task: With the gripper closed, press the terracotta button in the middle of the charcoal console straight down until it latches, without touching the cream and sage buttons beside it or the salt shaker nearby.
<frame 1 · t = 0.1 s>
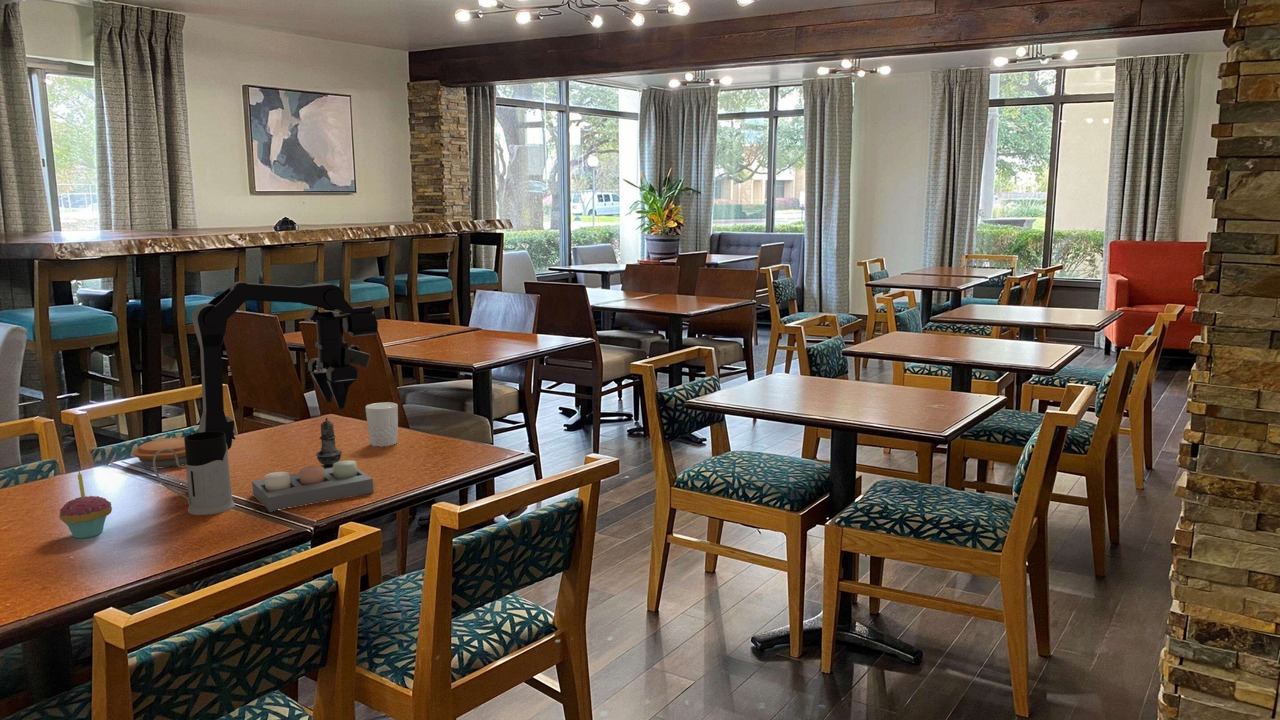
hand: (335, 405, 214), 15 cm above the table, tool pointing down, fingers open, 9 cm apart
cream button: (277, 482, 191), point 4 cm above the table, slide at 0.0 cm
salt shaker: (330, 468, 215), on the table
terracotta button: (312, 476, 195), point 4 cm above the table, slide at 0.0 cm
glass holder: (197, 511, 185), on the table
white cup: (383, 444, 236), on the table
sage button: (345, 471, 199), point 4 cm above the table, slide at 0.0 cm
cupcake: (88, 534, 173), on the table
console: (313, 493, 195), on the table
pie: (170, 462, 223), on the table
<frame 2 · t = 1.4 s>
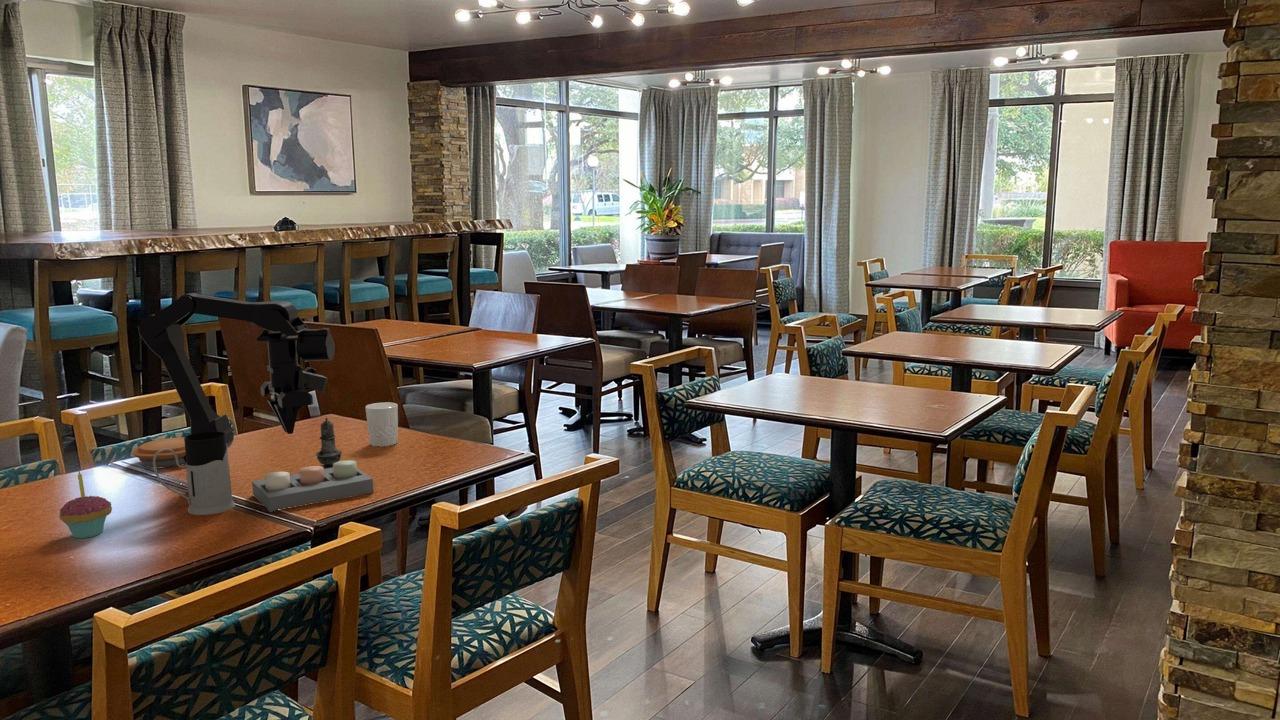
hand: (288, 432, 199), 12 cm above the table, tool pointing down, fingers closed
nothing on the table moved.
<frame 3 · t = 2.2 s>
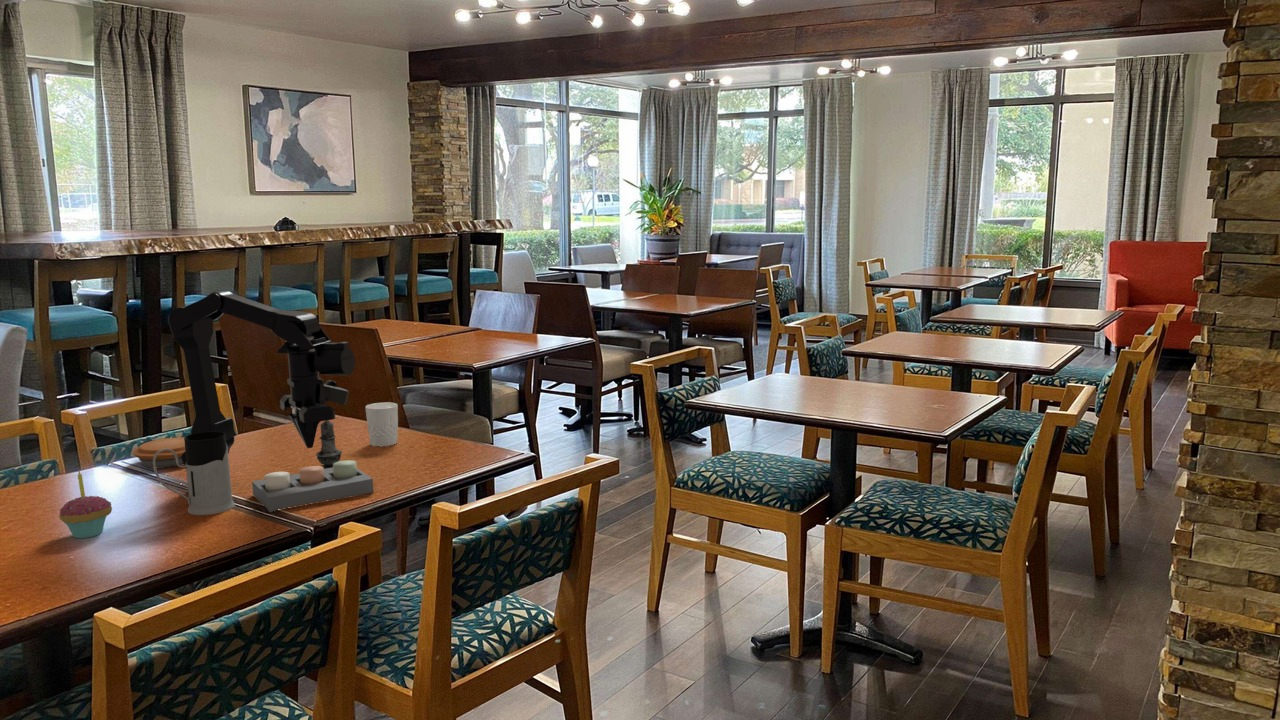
hand: (309, 447, 194), 10 cm above the table, tool pointing down, fingers closed
nothing on the table moved.
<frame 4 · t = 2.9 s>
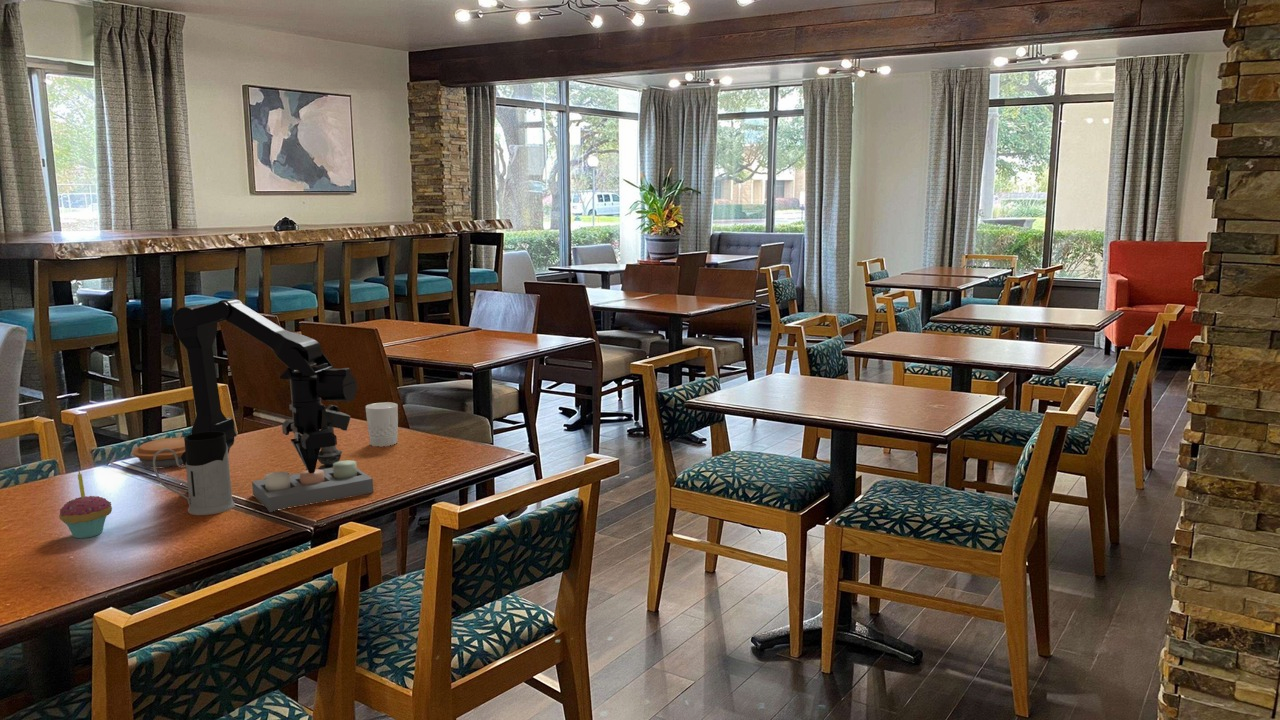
hand: (311, 472, 194), 5 cm above the table, tool pointing down, fingers closed, pressing on terracotta button
terracotta button: (312, 480, 195), point 3 cm above the table, slide at 0.8 cm, touching gripper
everything else where it was.
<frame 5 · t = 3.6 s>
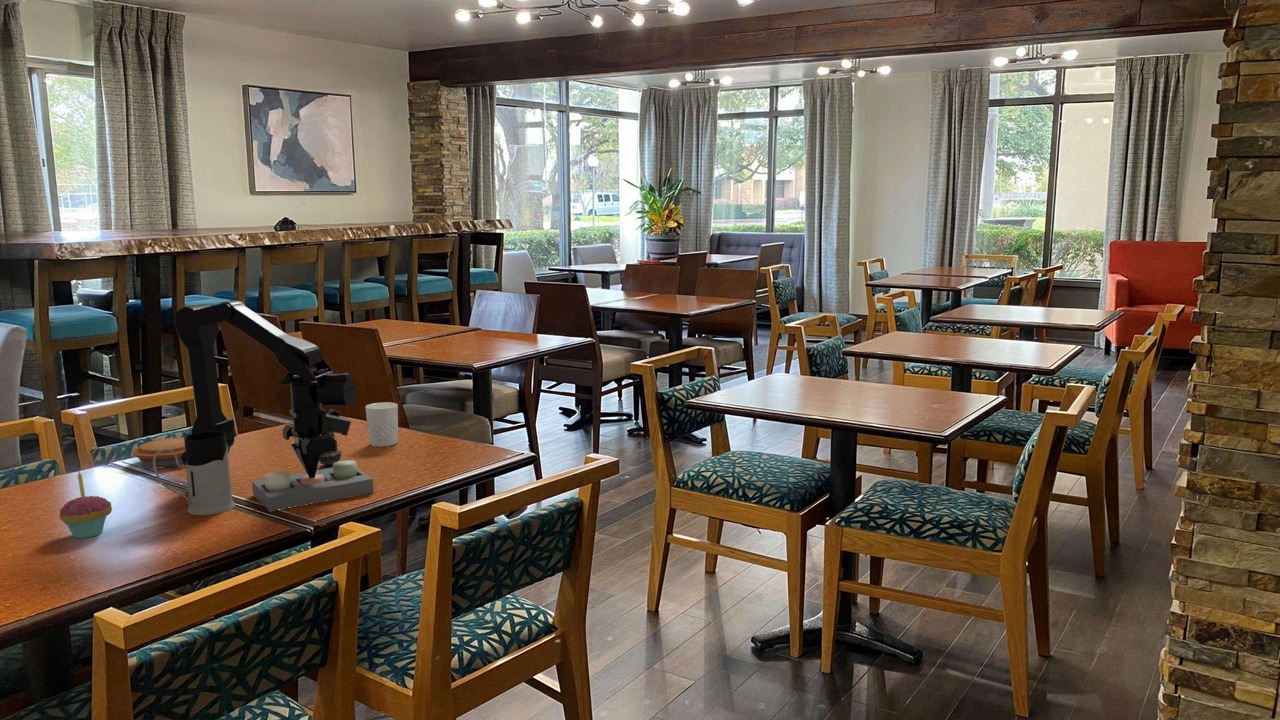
hand: (312, 477, 195), 4 cm above the table, tool pointing down, fingers closed, pressing on terracotta button
terracotta button: (312, 485, 195), point 2 cm above the table, slide at 1.8 cm, touching gripper
everything else where it was.
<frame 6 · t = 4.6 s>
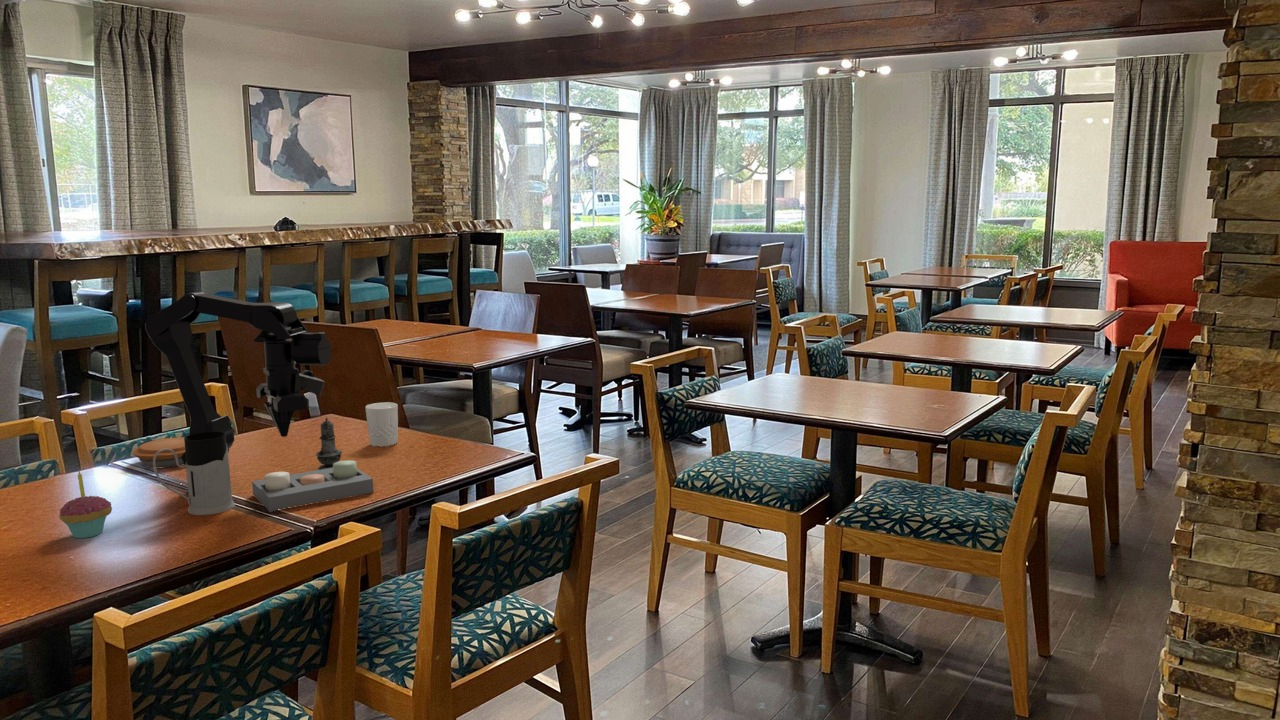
hand: (284, 436, 195), 12 cm above the table, tool pointing down, fingers closed
terracotta button: (312, 485, 195), point 2 cm above the table, slide at 1.8 cm
everything else where it was.
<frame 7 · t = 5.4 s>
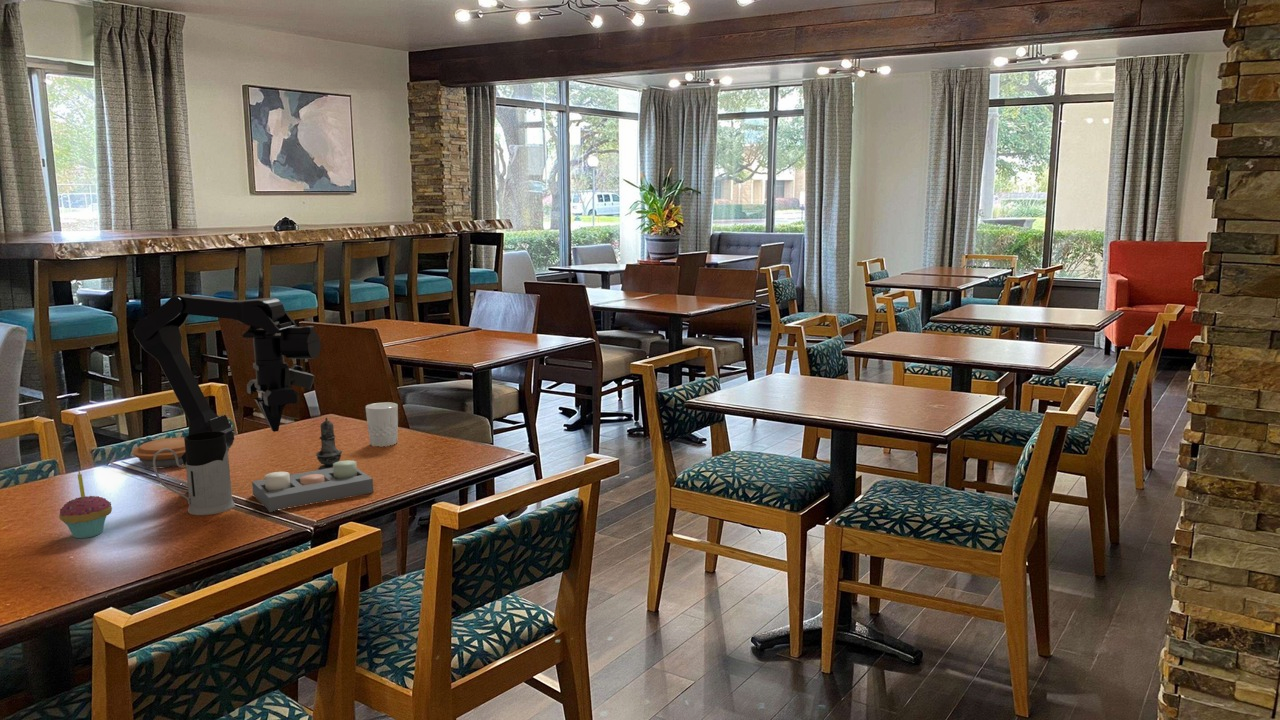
hand: (275, 431, 196), 13 cm above the table, tool pointing down, fingers closed
nothing on the table moved.
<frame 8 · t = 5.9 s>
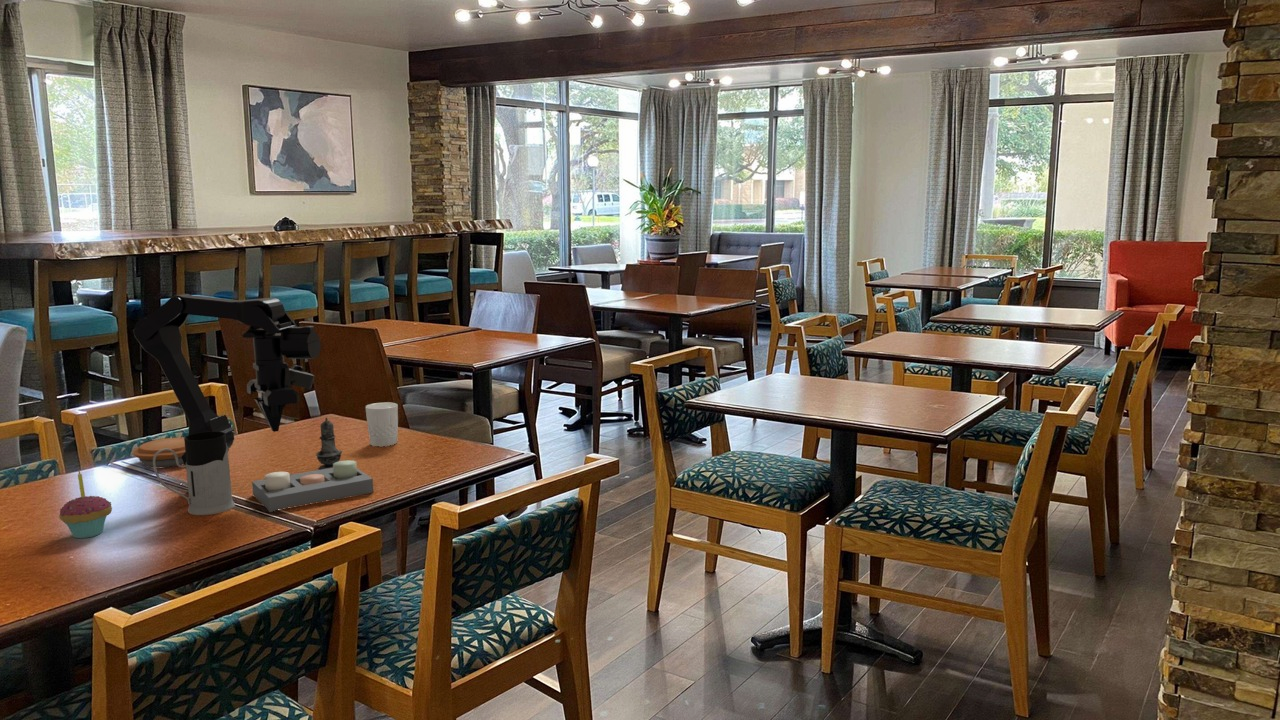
hand: (275, 431, 196), 13 cm above the table, tool pointing down, fingers closed
nothing on the table moved.
at the end: terracotta button slide at 1.8 cm; cream button slide at 0.0 cm; sage button slide at 0.0 cm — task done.
